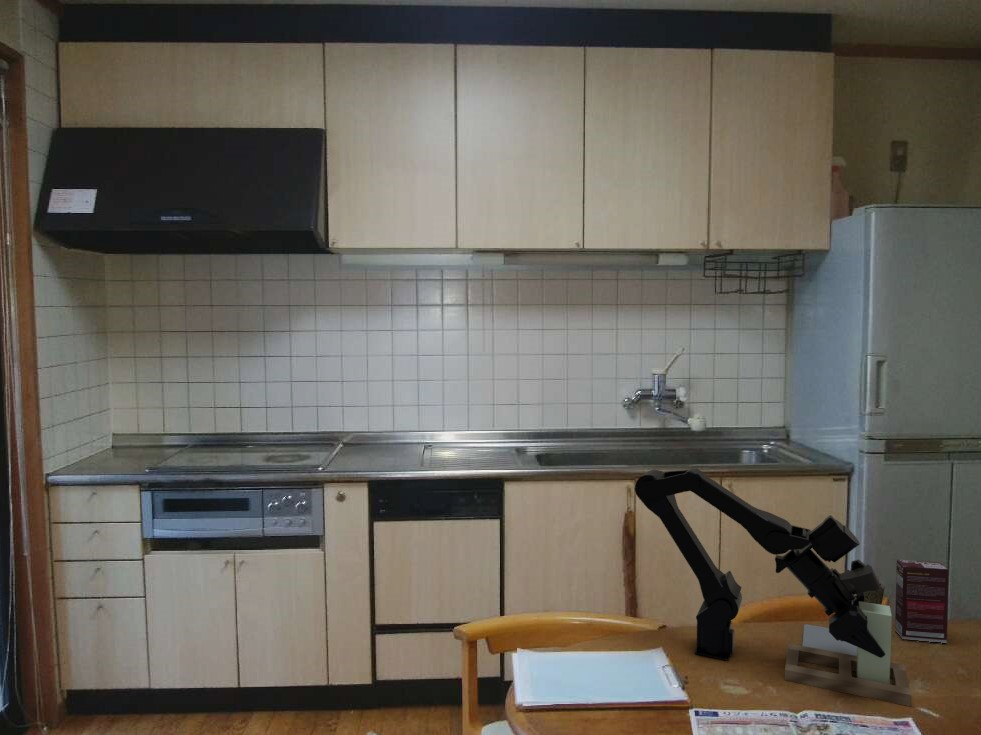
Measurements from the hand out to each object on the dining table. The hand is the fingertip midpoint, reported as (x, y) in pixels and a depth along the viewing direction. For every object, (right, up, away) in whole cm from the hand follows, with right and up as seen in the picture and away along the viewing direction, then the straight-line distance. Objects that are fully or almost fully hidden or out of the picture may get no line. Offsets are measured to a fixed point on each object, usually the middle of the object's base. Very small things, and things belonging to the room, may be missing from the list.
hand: (881, 645), depth 125 cm
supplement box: (+19, -7, +20) cm, 28 cm away
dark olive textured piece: (+13, -6, +30) cm, 33 cm away
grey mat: (0, -6, +16) cm, 17 cm away
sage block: (-1, -7, +1) cm, 7 cm away
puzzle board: (-5, -7, +3) cm, 9 cm away
